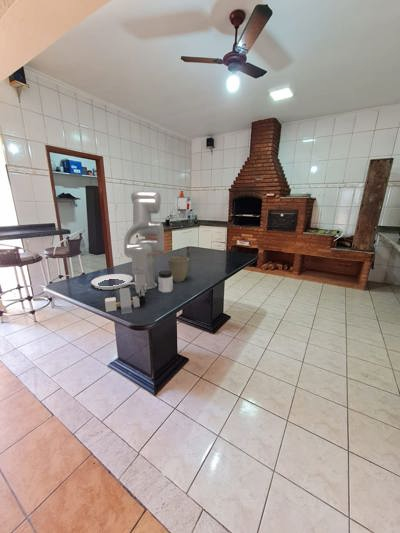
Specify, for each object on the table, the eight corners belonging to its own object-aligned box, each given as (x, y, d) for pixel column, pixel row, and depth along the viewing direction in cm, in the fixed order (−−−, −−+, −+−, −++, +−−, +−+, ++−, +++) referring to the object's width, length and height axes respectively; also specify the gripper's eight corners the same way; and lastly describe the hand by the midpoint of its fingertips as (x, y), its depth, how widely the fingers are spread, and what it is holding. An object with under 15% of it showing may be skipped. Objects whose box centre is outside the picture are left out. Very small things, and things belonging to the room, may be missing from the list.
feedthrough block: (120, 301, 123) (119, 286, 121) (129, 300, 125) (128, 285, 123) (121, 314, 109) (120, 297, 106) (132, 312, 111) (130, 296, 108)
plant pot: (190, 277, 166) (190, 256, 162) (187, 284, 152) (187, 261, 147) (170, 276, 167) (170, 256, 163) (166, 283, 153) (165, 260, 149)
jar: (175, 290, 140) (175, 272, 137) (165, 293, 135) (164, 275, 131) (166, 286, 146) (166, 269, 143) (156, 290, 141) (155, 271, 137)
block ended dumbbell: (106, 308, 115) (105, 298, 113) (138, 303, 121) (138, 294, 119) (106, 311, 111) (105, 301, 109) (139, 306, 117) (139, 297, 115)
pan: (115, 276, 168) (115, 268, 166) (161, 287, 146) (160, 278, 144) (83, 286, 146) (81, 277, 144) (130, 301, 124) (129, 290, 122)
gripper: (131, 267, 120) (133, 298, 125) (133, 274, 107) (136, 309, 111) (145, 265, 123) (147, 296, 127) (149, 273, 109) (151, 307, 114)
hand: (142, 302), depth 119 cm, fingers closed
